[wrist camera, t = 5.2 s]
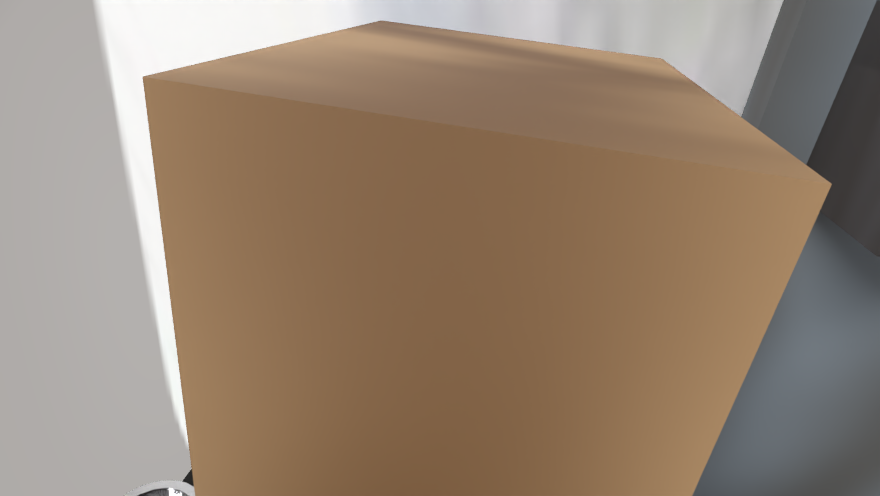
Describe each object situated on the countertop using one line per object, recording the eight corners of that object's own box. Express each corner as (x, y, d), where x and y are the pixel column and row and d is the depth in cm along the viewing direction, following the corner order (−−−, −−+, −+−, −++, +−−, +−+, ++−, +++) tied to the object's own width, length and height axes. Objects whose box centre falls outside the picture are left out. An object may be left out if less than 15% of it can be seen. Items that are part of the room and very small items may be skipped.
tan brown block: (349, 563, 15) (242, 870, 10) (381, 20, 9) (143, 75, 4) (511, 604, 15) (487, 950, 10) (661, 58, 9) (830, 184, 3)
